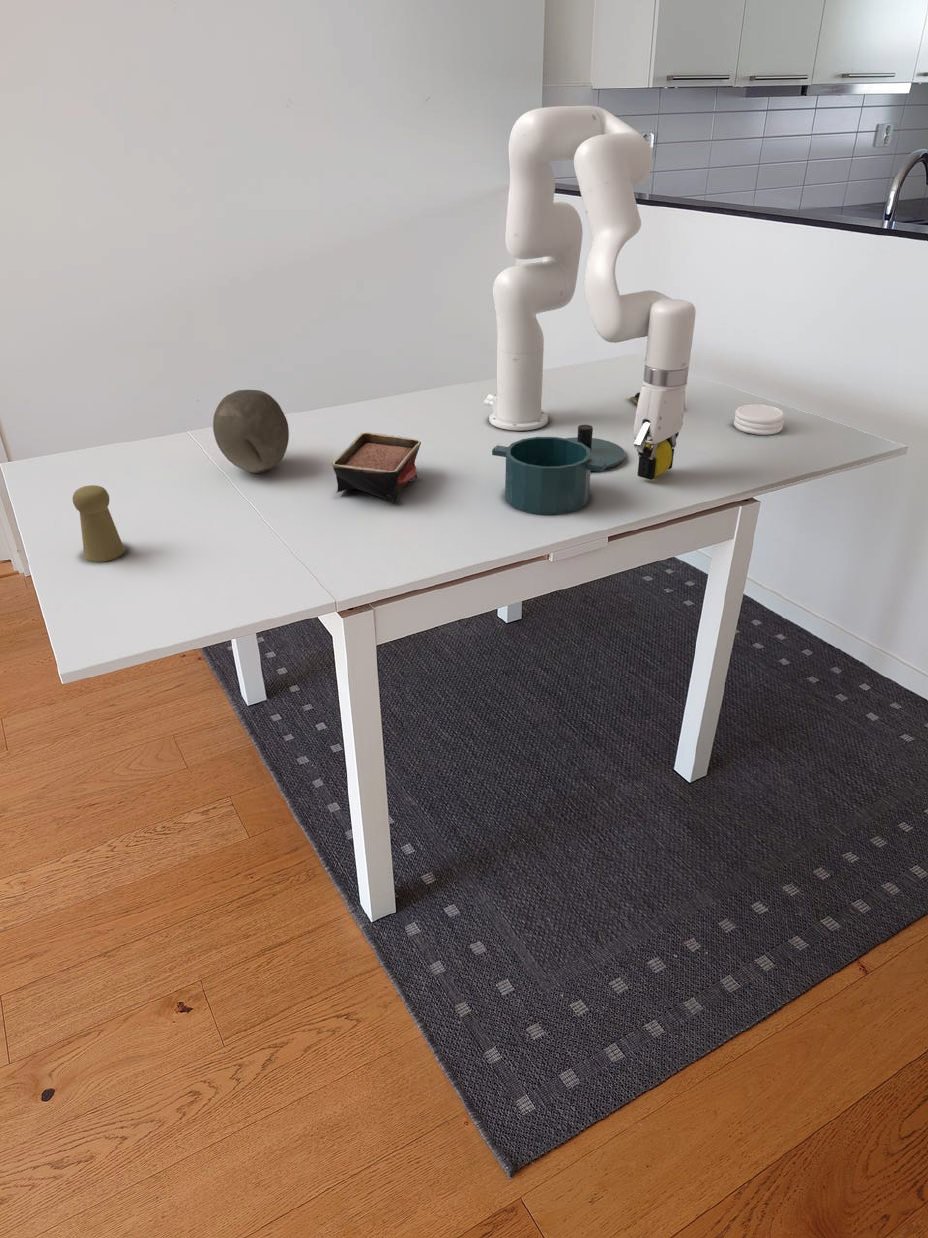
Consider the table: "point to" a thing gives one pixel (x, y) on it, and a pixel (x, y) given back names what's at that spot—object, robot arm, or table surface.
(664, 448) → the lemon
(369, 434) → the square planter
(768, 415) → the white round flat cylinder
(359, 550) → the table surface
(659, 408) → the robot arm
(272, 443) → the grey river stone
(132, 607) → the table surface
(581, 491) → the pot
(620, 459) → the pot lid
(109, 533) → the cork
